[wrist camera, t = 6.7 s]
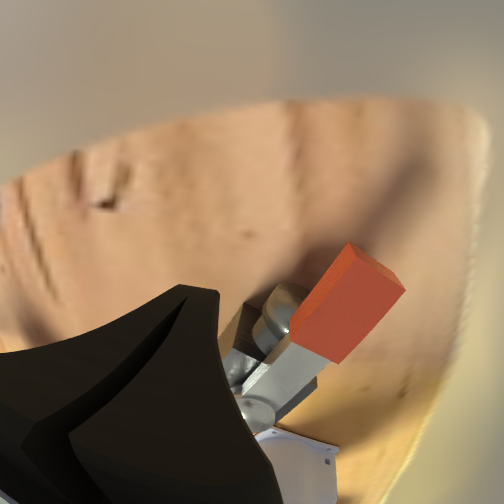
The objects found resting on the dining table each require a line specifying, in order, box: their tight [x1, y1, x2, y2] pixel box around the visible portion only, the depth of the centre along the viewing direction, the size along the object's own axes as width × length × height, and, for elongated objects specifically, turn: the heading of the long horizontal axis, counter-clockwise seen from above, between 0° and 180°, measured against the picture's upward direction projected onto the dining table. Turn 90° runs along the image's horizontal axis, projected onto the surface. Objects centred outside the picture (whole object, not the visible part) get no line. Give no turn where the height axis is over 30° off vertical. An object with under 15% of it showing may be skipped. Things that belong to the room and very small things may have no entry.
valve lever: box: [231, 242, 406, 433], centre depth 15 cm, size 13×3×2 cm, turn 150°
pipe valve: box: [217, 282, 317, 431], centre depth 20 cm, size 6×13×5 cm, turn 150°
